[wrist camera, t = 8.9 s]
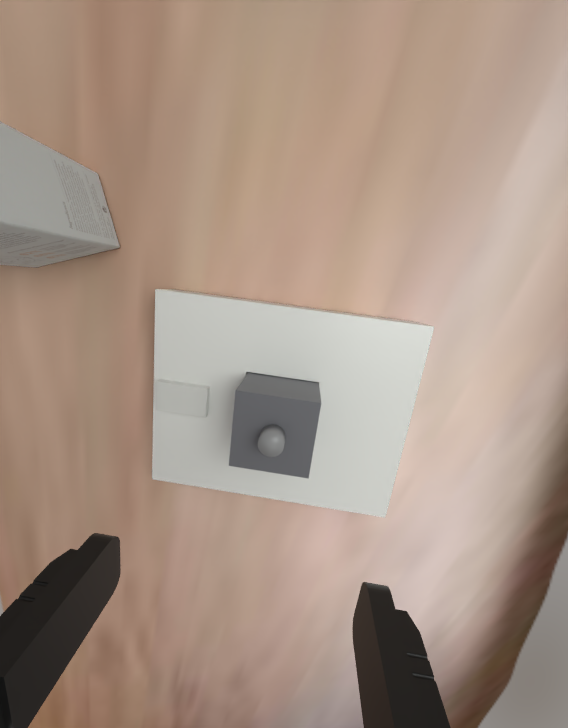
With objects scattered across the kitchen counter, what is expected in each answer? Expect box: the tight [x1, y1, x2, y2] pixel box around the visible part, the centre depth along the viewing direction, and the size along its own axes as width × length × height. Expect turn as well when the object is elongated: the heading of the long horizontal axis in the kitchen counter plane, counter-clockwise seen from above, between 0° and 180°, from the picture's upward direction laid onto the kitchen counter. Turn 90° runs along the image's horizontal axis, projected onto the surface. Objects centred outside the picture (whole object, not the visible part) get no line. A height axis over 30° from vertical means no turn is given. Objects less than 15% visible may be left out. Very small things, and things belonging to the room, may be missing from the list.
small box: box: [0, 121, 120, 267], centre depth 19 cm, size 8×6×10 cm
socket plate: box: [152, 289, 434, 518], centre depth 24 cm, size 16×20×4 cm
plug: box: [229, 372, 321, 479], centre depth 22 cm, size 5×5×8 cm
